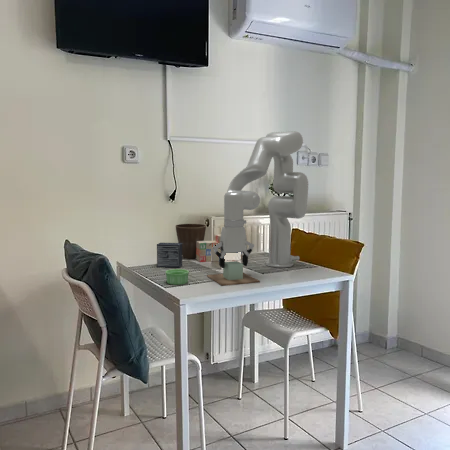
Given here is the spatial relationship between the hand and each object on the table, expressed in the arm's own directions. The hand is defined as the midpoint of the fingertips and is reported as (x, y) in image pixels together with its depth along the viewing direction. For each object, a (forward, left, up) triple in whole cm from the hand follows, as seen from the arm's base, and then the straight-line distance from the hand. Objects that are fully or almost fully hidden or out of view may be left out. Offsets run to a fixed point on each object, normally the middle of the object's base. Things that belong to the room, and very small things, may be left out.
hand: (233, 266), depth 180 cm
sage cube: (0, 0, -5) cm, 5 cm away
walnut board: (0, 0, -5) cm, 5 cm away
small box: (+17, -32, -5) cm, 37 cm away
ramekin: (+22, -3, -5) cm, 23 cm away
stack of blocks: (-9, -38, -6) cm, 40 cm away
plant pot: (+2, -48, -5) cm, 48 cm away
